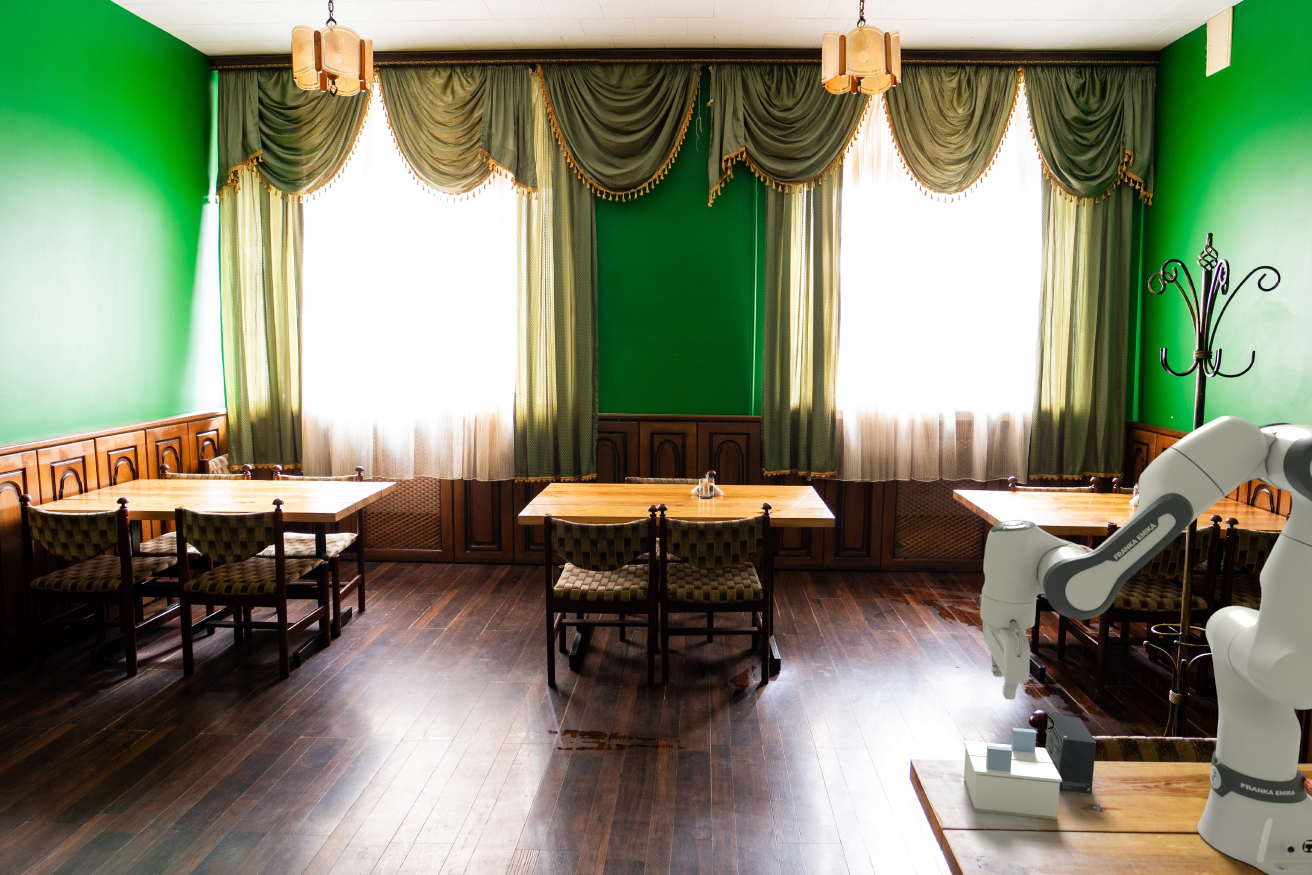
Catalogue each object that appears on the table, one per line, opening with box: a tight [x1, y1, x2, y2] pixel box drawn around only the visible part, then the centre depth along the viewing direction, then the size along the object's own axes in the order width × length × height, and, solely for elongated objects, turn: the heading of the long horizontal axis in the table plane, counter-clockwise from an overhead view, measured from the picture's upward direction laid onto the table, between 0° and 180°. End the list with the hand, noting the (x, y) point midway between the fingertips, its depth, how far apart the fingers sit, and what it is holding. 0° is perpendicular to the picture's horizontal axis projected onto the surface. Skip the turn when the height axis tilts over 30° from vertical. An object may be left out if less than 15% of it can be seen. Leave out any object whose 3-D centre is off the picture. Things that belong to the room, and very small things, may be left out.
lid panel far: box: [963, 727, 1053, 764], centre depth 154 cm, size 15×5×4 cm, turn 79°
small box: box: [1044, 713, 1097, 794], centre depth 159 cm, size 11×6×10 cm, turn 168°
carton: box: [963, 748, 1060, 821], centre depth 152 cm, size 14×11×7 cm
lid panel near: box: [969, 745, 1062, 782], centre depth 148 cm, size 15×5×4 cm, turn 79°
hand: (1002, 685), depth 146 cm, fingers open, 8 cm apart
